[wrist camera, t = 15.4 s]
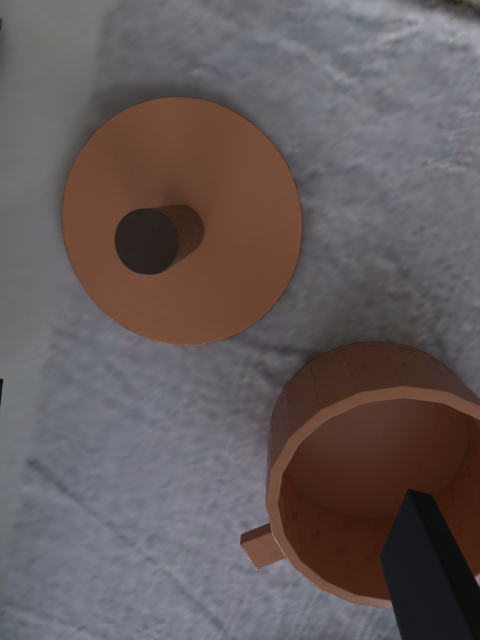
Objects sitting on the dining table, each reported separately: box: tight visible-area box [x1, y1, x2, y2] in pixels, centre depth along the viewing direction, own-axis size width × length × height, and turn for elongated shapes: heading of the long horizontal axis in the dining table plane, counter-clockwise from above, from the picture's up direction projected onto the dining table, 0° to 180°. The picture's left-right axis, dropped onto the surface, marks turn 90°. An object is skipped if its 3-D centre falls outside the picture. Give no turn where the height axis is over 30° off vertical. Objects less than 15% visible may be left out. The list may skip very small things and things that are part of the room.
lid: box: [62, 97, 302, 345], centre depth 29 cm, size 18×18×10 cm
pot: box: [240, 342, 480, 609], centre depth 33 cm, size 17×22×8 cm
